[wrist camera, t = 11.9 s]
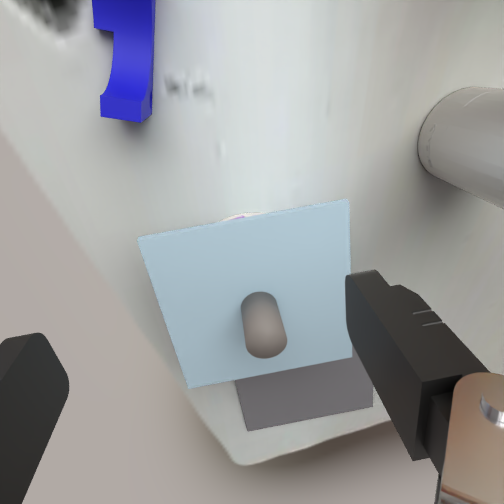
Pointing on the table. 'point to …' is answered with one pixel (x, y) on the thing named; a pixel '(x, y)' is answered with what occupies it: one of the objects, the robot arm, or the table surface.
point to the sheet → (254, 291)
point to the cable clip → (128, 57)
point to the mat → (305, 393)
